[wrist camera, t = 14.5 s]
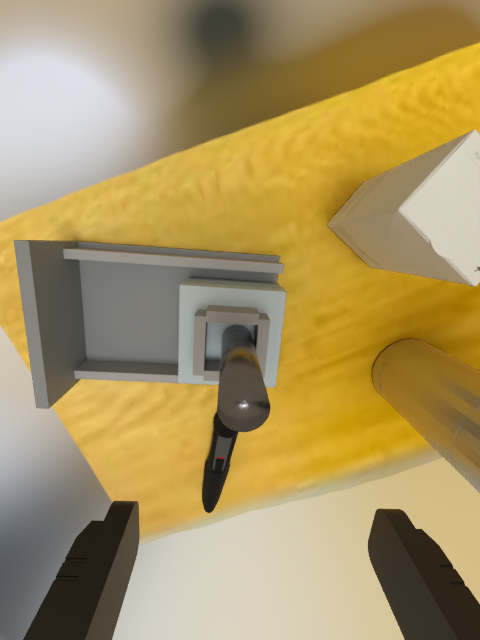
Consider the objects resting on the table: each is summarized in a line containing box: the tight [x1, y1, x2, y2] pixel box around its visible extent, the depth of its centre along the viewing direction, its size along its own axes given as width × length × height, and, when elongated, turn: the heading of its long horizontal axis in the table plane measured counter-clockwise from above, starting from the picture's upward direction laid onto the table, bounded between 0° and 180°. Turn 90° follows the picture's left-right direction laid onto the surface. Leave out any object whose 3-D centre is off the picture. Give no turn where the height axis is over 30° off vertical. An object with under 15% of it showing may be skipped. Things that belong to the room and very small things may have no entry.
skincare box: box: [327, 129, 480, 287], centre depth 26 cm, size 8×7×16 cm
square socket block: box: [178, 276, 287, 387], centre depth 30 cm, size 10×10×10 cm
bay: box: [14, 240, 284, 409], centre depth 31 cm, size 24×16×9 cm, turn 86°
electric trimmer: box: [202, 412, 238, 513], centre depth 40 cm, size 4×16×3 cm, turn 168°
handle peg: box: [217, 325, 270, 432], centre depth 22 cm, size 3×3×12 cm
